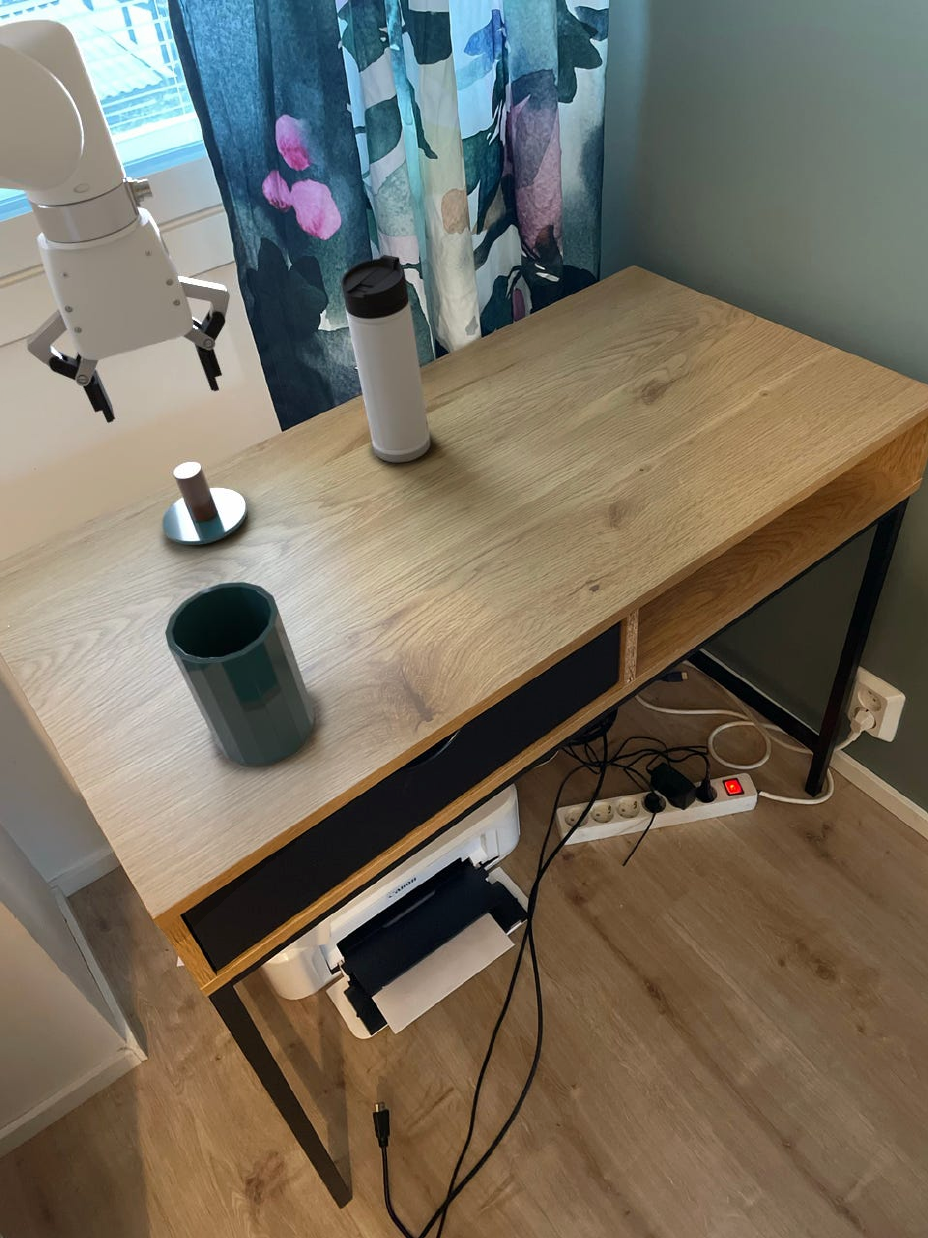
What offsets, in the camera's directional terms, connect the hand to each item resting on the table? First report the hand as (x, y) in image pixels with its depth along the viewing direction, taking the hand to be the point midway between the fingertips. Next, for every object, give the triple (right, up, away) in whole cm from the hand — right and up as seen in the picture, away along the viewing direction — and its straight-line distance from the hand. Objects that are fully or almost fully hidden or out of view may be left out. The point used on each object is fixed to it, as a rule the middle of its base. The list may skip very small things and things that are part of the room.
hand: (162, 399), depth 83 cm
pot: (+12, -29, -10) cm, 33 cm away
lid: (+1, -10, +10) cm, 14 cm away
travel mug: (+21, -1, +16) cm, 27 cm away
